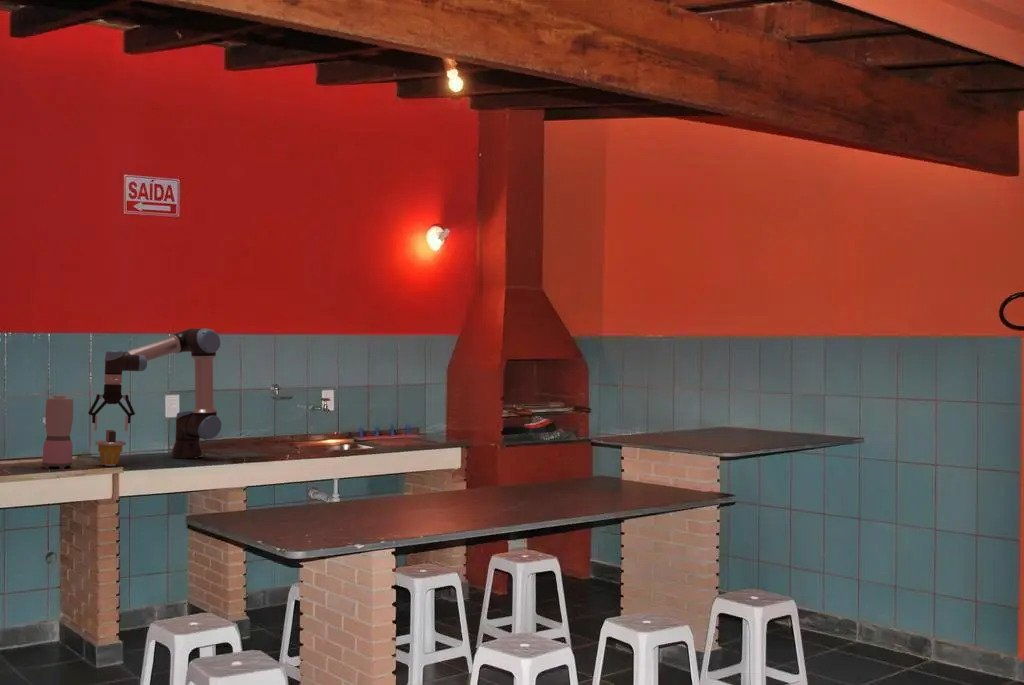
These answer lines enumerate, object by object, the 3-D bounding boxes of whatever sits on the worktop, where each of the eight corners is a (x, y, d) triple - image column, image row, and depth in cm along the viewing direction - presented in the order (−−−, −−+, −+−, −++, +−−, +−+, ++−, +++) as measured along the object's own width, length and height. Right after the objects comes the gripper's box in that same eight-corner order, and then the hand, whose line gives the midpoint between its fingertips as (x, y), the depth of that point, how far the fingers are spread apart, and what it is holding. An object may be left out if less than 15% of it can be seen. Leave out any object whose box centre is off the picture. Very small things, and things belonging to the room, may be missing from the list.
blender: (68, 469, 475) (71, 396, 475) (38, 468, 473) (41, 395, 473) (76, 465, 490) (79, 395, 491) (48, 464, 488) (51, 394, 489)
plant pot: (125, 465, 499) (126, 444, 499) (115, 467, 488) (116, 445, 488) (104, 464, 500) (104, 443, 500) (93, 466, 489) (94, 444, 489)
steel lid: (123, 443, 503) (124, 429, 503) (127, 445, 491) (127, 432, 491) (93, 443, 497) (94, 429, 497) (97, 445, 485) (97, 432, 485)
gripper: (84, 383, 486) (82, 431, 485) (142, 384, 497) (140, 431, 496) (83, 382, 492) (81, 429, 492) (140, 384, 503) (138, 429, 503)
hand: (111, 430), depth 494 cm, fingers open, 13 cm apart
